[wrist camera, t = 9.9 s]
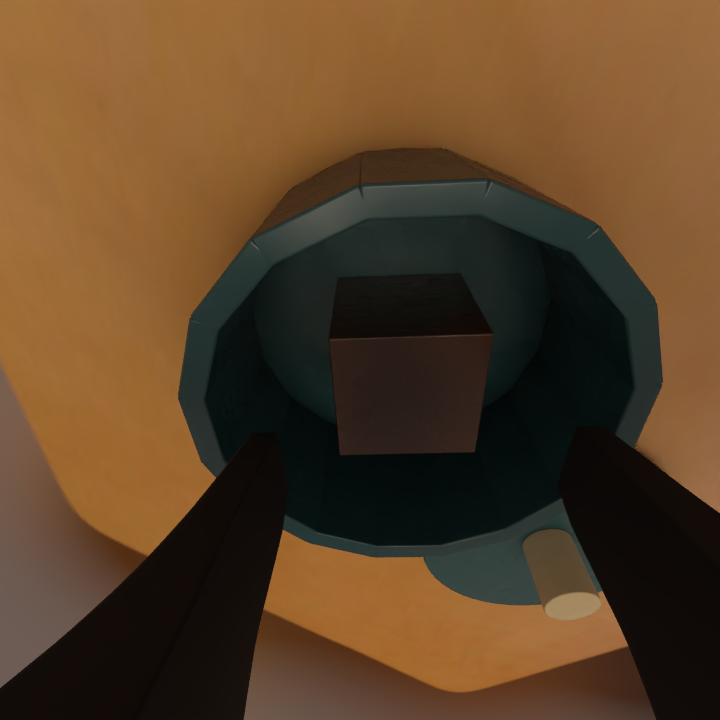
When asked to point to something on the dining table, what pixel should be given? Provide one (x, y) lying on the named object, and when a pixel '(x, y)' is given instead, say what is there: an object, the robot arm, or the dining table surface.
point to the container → (506, 366)
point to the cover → (526, 572)
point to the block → (408, 364)
